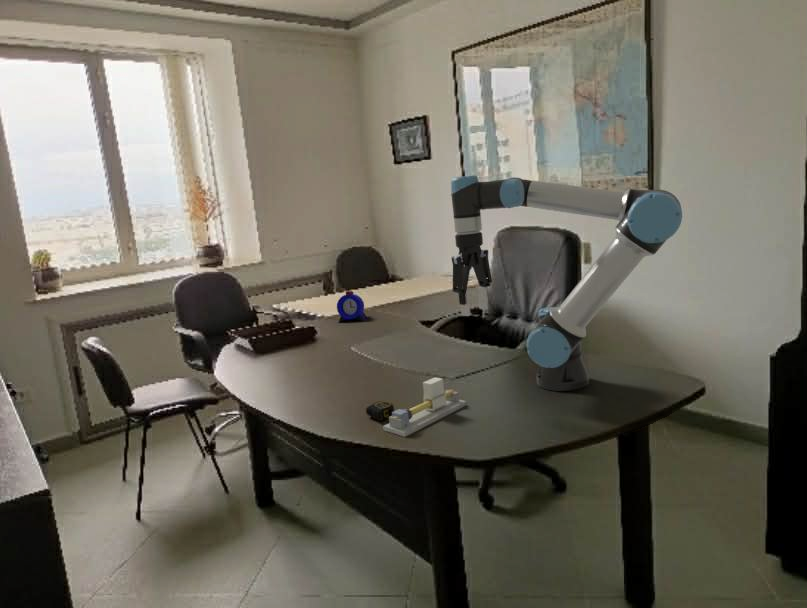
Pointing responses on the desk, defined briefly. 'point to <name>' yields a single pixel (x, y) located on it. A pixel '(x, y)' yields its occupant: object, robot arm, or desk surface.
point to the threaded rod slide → (421, 415)
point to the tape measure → (380, 410)
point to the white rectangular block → (434, 393)
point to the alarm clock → (350, 307)
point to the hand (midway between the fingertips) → (475, 312)
